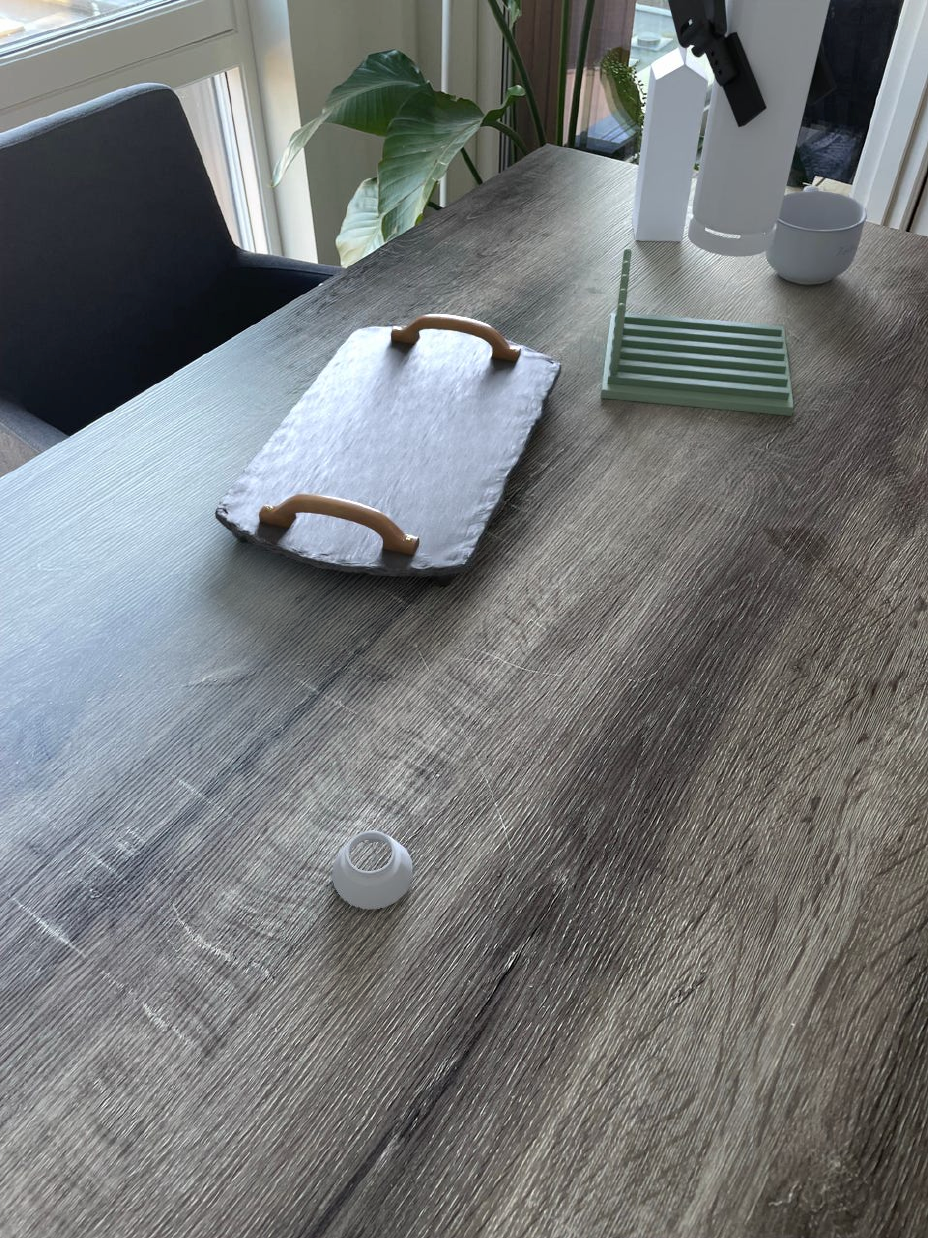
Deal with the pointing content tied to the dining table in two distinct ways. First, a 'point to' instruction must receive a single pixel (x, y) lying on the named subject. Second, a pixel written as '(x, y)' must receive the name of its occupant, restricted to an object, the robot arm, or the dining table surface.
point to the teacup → (816, 236)
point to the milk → (668, 146)
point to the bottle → (756, 127)
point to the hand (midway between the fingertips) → (788, 106)
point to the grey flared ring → (372, 875)
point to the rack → (695, 361)
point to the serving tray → (396, 451)
